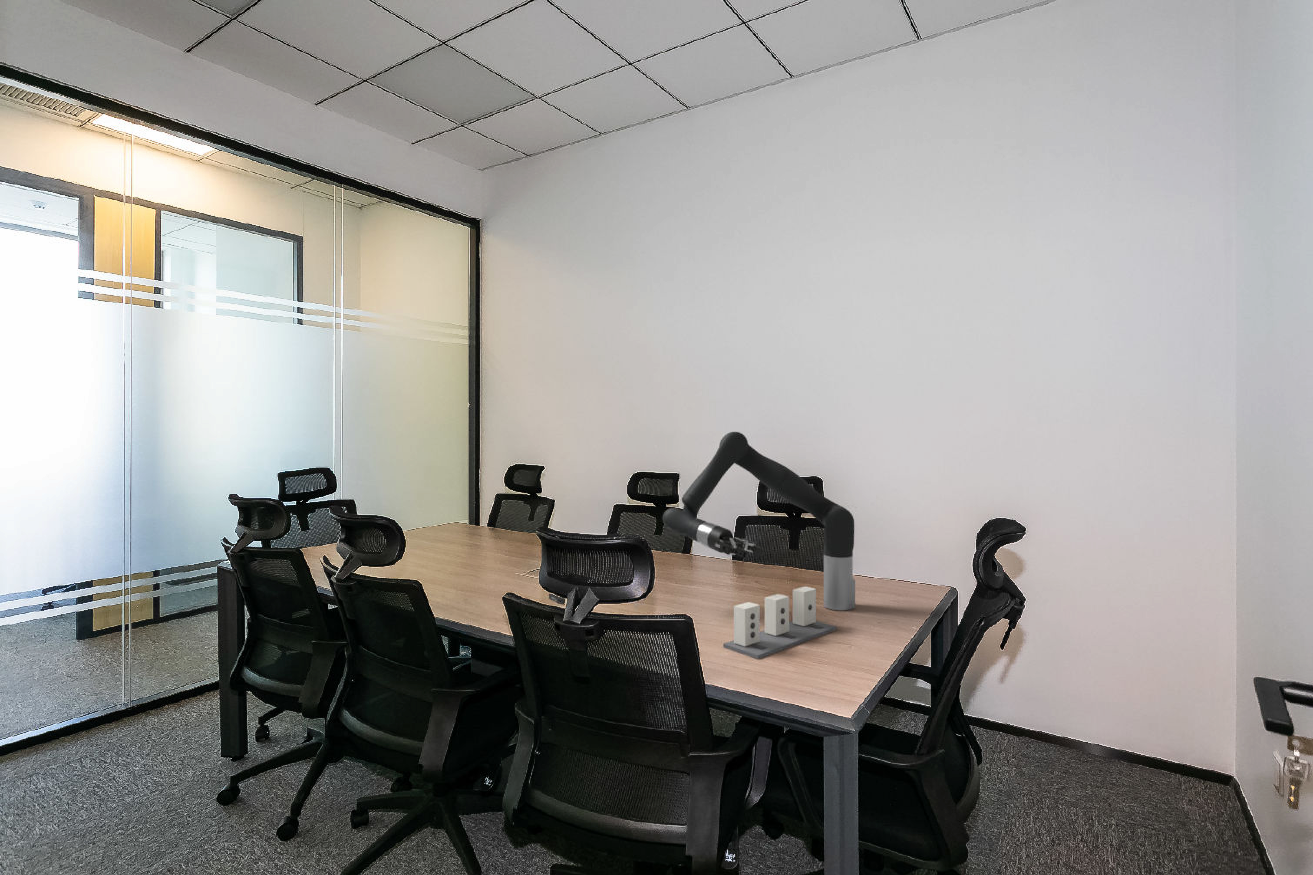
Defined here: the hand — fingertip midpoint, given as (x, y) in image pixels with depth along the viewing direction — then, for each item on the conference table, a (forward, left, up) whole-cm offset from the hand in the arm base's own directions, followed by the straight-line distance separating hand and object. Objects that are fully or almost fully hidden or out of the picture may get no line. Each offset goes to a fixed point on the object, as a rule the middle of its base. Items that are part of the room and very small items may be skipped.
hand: (755, 554), depth 194 cm
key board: (-4, +10, -22) cm, 25 cm away
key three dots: (+8, +15, -21) cm, 27 cm away
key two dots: (-3, +9, -21) cm, 23 cm away
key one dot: (-15, +2, -21) cm, 25 cm away
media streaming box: (+51, -45, -23) cm, 72 cm away
